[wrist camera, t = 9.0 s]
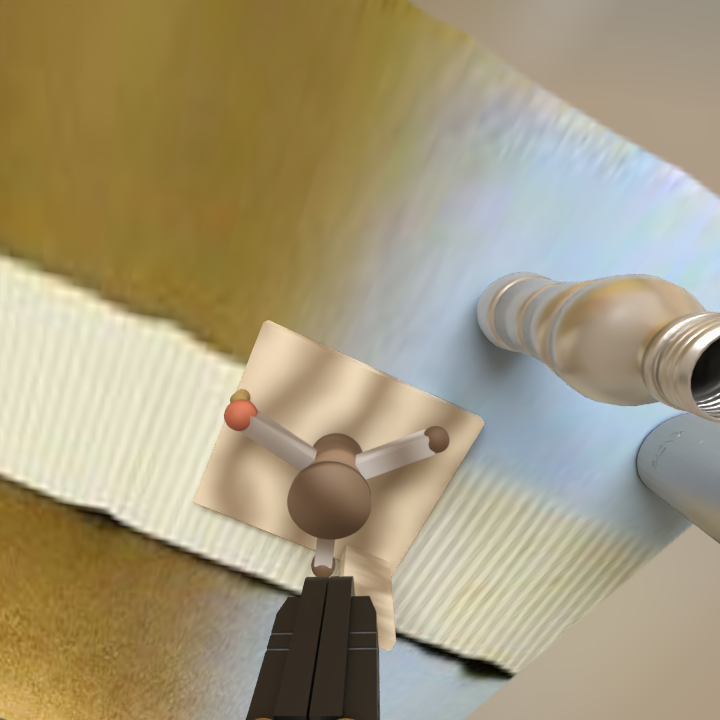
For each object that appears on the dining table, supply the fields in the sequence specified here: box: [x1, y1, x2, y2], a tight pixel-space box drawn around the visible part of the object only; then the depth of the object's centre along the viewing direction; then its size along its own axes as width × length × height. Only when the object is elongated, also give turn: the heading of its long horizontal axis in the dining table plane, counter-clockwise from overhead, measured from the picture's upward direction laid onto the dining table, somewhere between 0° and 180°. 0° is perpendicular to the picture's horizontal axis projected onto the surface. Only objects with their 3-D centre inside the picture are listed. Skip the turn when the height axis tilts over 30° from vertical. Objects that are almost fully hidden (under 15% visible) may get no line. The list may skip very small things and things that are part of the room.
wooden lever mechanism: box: [193, 320, 485, 652], centre depth 30 cm, size 22×20×10 cm
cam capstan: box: [224, 399, 450, 577], centre depth 29 cm, size 18×16×7 cm
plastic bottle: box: [477, 272, 720, 423], centre depth 21 cm, size 6×7×20 cm
